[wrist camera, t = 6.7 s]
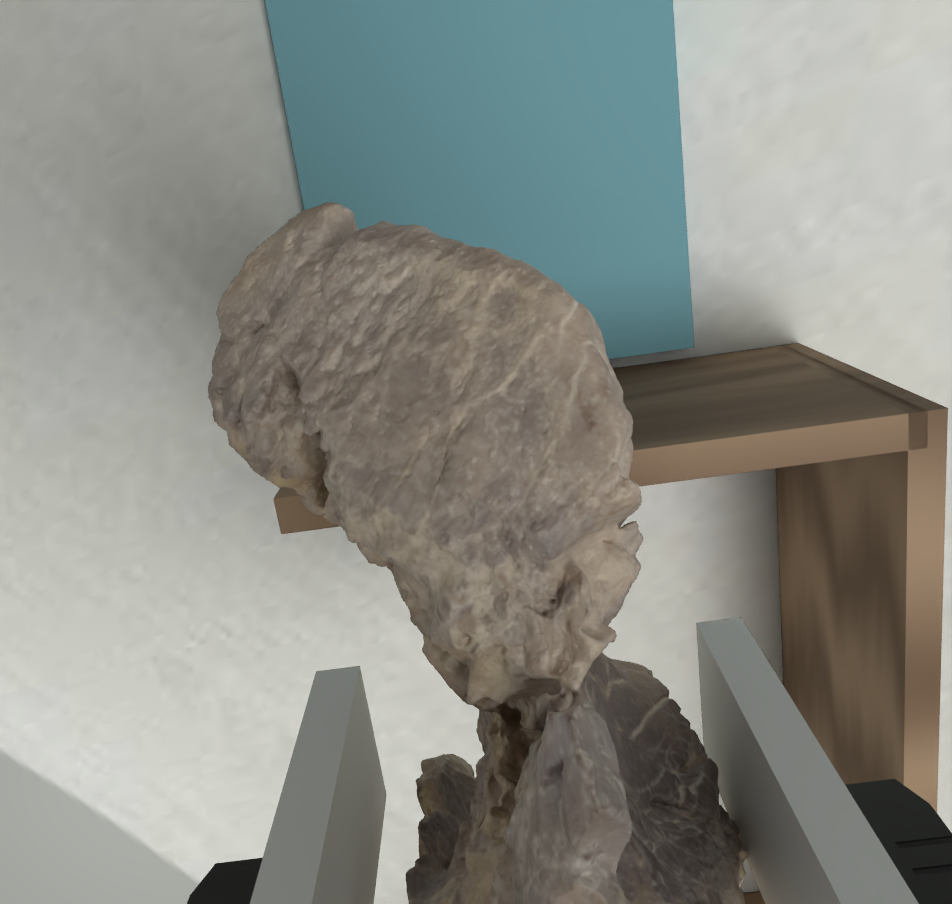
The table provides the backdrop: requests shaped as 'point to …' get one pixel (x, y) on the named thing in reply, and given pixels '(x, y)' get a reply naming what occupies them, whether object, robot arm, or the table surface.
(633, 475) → the walnut cubby
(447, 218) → the teal rubber mat
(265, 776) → the table surface
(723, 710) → the robot arm
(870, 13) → the table surface
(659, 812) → the rock
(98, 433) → the table surface
